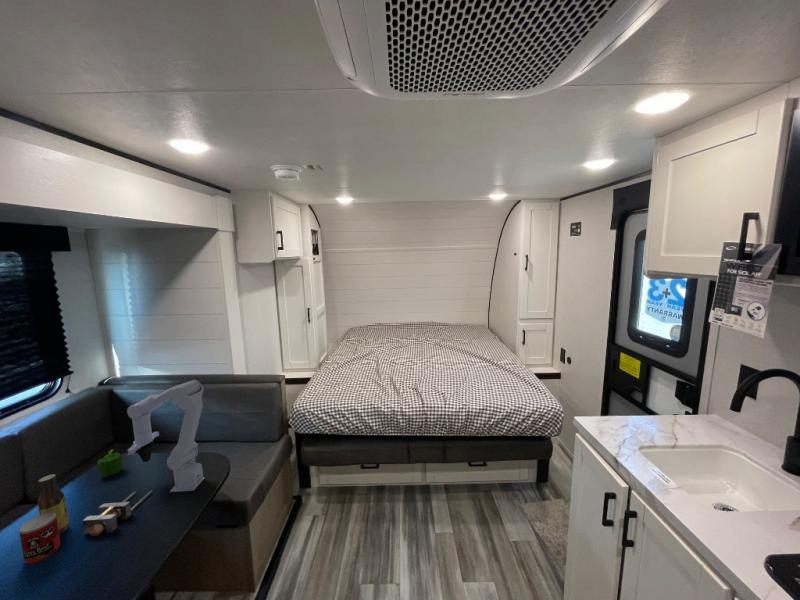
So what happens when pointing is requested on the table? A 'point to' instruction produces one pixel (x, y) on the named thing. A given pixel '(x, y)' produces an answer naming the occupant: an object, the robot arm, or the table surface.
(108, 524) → the metal clamp tool
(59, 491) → the sauce bottle
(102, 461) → the bell pepper
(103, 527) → the tube
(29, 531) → the canned food
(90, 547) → the table surface
